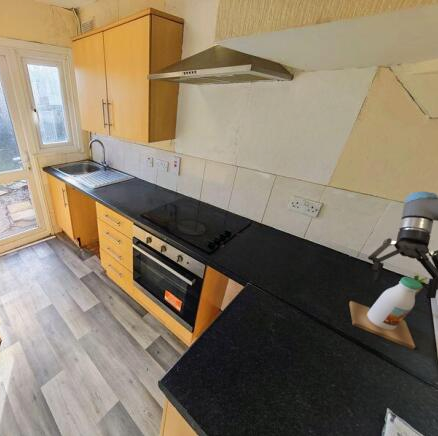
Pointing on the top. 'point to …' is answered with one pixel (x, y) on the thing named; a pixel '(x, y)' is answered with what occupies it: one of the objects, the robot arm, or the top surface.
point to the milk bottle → (394, 304)
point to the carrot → (419, 281)
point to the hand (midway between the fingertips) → (402, 288)
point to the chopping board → (395, 335)
